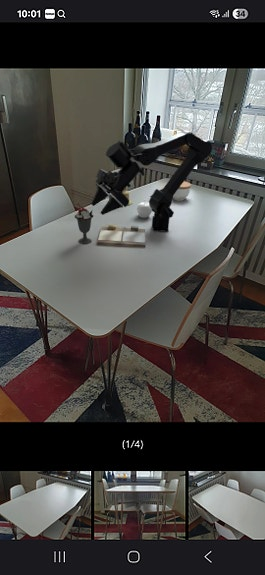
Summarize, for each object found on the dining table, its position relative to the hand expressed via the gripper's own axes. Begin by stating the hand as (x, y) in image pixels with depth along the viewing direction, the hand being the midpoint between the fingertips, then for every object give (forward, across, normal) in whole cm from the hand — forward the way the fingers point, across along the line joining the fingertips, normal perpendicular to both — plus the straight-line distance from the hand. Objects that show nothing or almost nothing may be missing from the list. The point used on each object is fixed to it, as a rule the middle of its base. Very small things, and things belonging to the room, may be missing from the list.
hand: (96, 209), depth 115 cm
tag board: (+2, +2, +15) cm, 16 cm away
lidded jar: (-32, -29, +49) cm, 65 cm away
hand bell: (-11, -33, +28) cm, 44 cm away
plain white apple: (-12, -14, +28) cm, 34 cm away
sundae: (+12, 0, +5) cm, 13 cm away
